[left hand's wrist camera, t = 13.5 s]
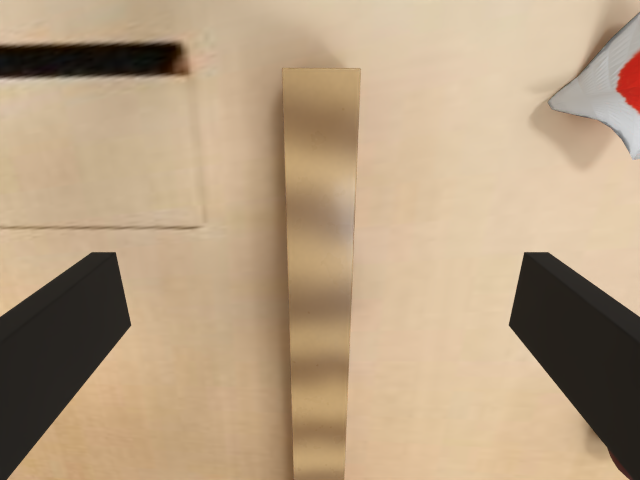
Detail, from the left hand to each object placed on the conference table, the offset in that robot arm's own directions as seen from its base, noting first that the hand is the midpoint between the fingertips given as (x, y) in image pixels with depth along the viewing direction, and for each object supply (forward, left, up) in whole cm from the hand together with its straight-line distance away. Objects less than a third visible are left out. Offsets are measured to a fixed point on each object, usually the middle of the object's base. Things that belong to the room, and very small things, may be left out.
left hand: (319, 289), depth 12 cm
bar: (+19, +14, -23) cm, 33 cm away
